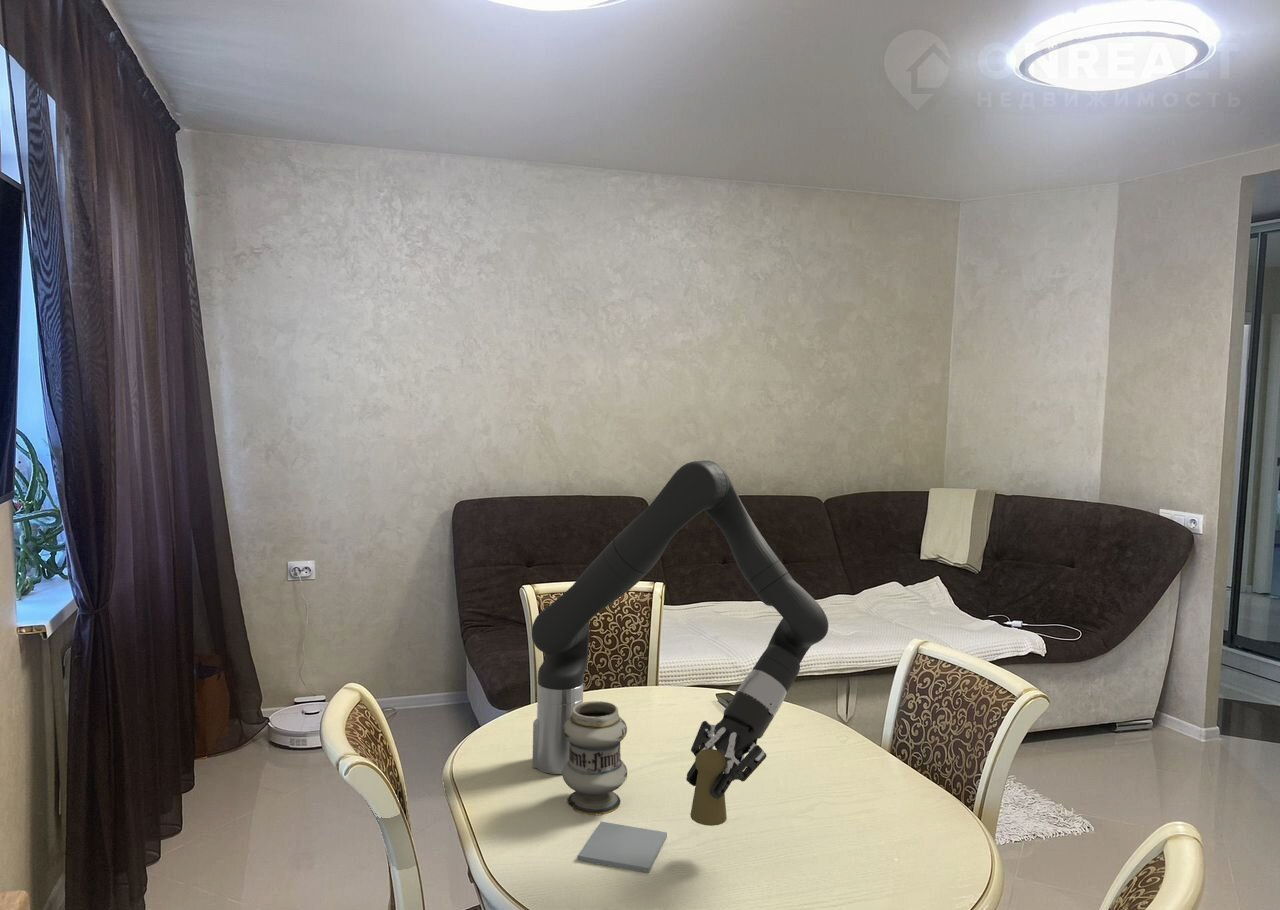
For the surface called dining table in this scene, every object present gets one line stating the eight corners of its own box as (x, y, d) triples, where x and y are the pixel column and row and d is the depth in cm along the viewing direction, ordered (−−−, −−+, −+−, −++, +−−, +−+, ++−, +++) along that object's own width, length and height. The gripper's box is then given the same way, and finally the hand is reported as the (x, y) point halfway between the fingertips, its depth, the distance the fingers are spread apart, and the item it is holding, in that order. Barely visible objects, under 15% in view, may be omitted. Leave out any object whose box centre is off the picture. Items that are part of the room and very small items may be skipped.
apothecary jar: (549, 798, 164) (551, 704, 163) (601, 782, 171) (604, 692, 170) (585, 824, 154) (587, 725, 153) (639, 806, 162) (642, 711, 160)
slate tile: (577, 860, 142) (577, 855, 142) (600, 825, 154) (601, 821, 154) (648, 873, 139) (649, 868, 139) (667, 836, 151) (667, 832, 151)
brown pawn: (724, 827, 141) (727, 761, 140) (687, 822, 142) (690, 757, 141) (728, 810, 147) (731, 746, 146) (693, 805, 148) (695, 742, 147)
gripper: (715, 679, 153) (661, 762, 147) (777, 704, 142) (721, 795, 135) (735, 702, 157) (683, 784, 150) (797, 728, 146) (743, 818, 139)
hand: (701, 789), depth 143 cm, fingers closed on brown pawn, 5 cm apart
